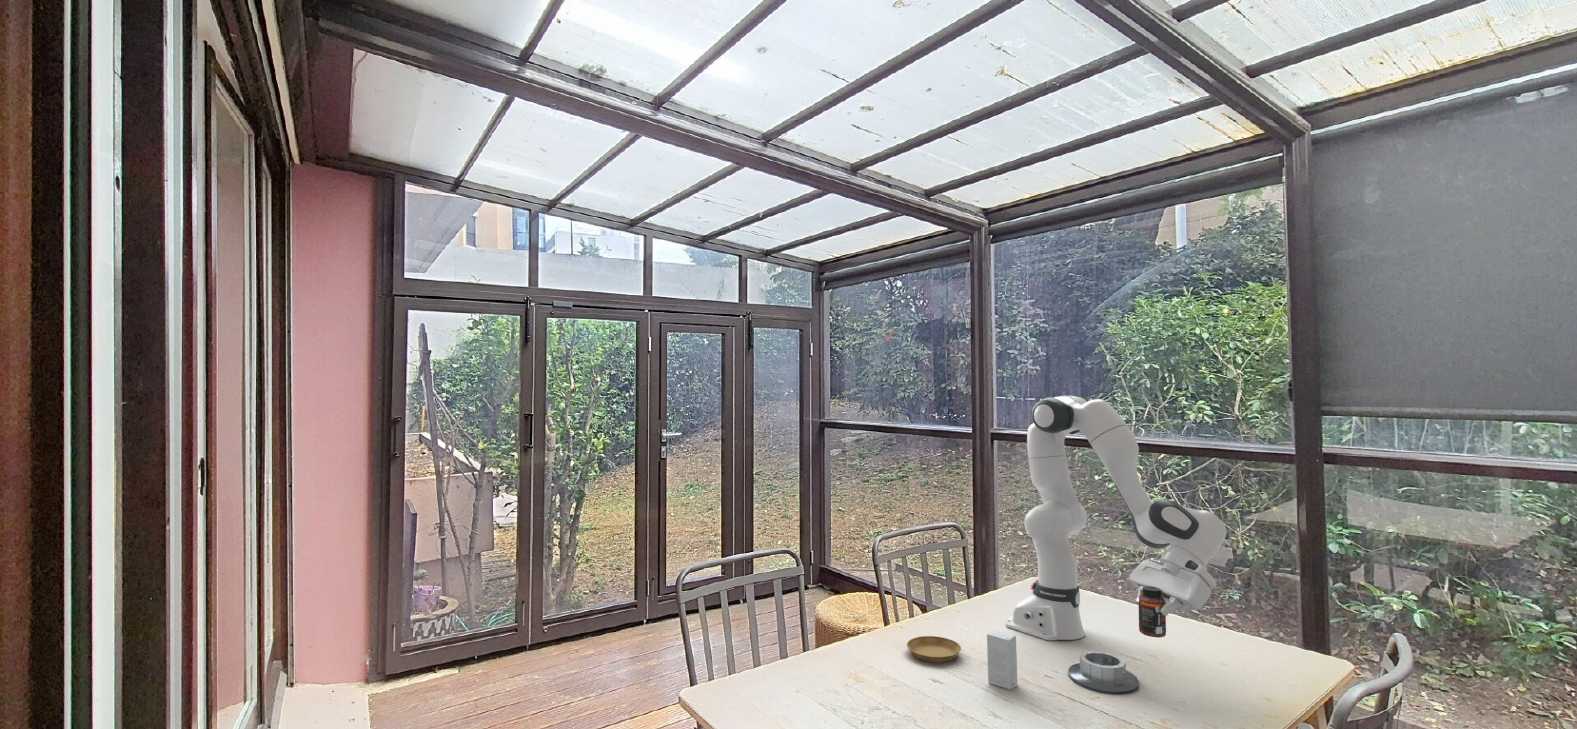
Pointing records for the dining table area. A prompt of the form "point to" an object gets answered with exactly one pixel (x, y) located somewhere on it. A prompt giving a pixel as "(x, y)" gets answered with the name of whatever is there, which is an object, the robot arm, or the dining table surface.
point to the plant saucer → (933, 648)
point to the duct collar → (1103, 673)
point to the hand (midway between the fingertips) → (1149, 608)
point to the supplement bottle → (1151, 613)
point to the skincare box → (1002, 659)
